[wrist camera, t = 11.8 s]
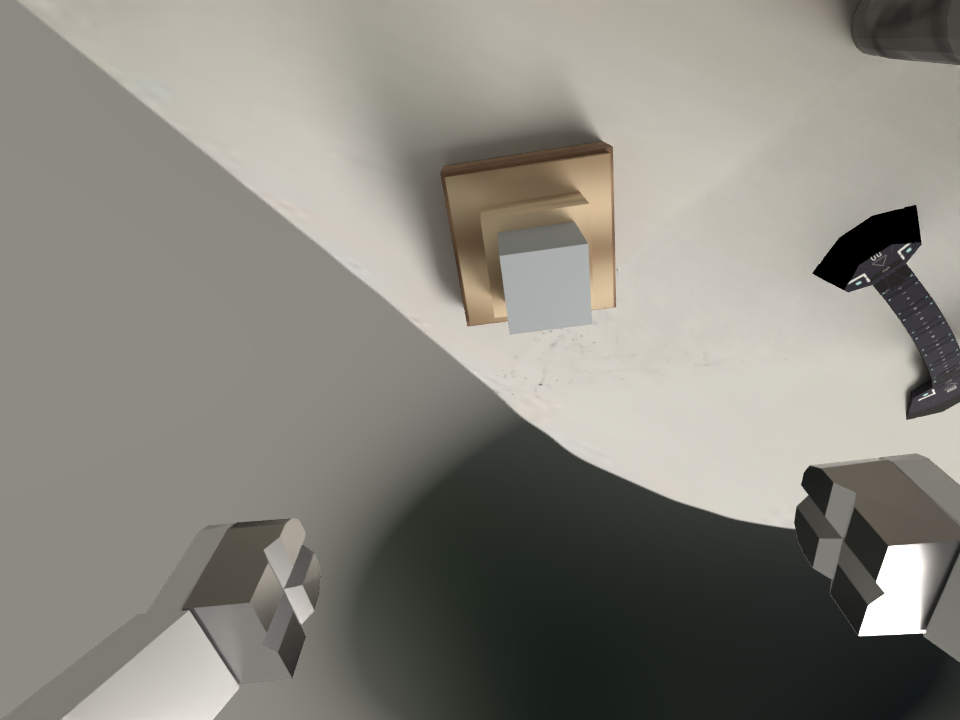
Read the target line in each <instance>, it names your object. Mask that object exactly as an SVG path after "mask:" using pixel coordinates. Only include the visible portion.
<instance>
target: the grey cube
mask: <svg viewBox="0 0 960 720" xmlns="http://www.w3.org/2000/svg"><path fill="white" fill-rule="evenodd" d="M498 244H499V256H500V264H501V271H502V279H503V286H504V294H505V302H506V309H507V317H508V324H509V332H510V335H511V334H519V333H526V332H534V331H542V330H550V329H558V328H565V327H573V326H581V325H589V324H592V315H591V293H590V271H589V250H588V242H587V241H586V239H585V238H584V236H583V234H582V233H581V231H580V230H579V228H578V226H577V225H576V223H575V222H568V223H561V224H554V225H547V226H540V227H533V228H526V229H519V230H512V231H505V232H498Z"/></svg>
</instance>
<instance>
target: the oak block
mask: <svg viewBox="0 0 960 720" xmlns="http://www.w3.org/2000/svg"><path fill="white" fill-rule="evenodd" d="M480 221H481V228H482V234H483V241H484V248H485V255H486V262H487V269H488V276H489V282H490V289H491V296H492V303H493V310H494V317H495V318H498V317H506V316H507V309H506V302H505V294H504V286H503V279H502V271H501V264H500V256H499V244H498V232H505V231H512V230H519V229H526V228H533V227H540V226H547V225H554V224H561V223H568V222H575V223H576V225H577V226H578V228H579V230H580V231H581V233H582V234H583V236H584V238H585V239H586V241H587V242H588V250H589V271H590V293H591V305H594V295H593V271H592V248H591V225H590V203H589V202H588V201H587V200H586V199H585V197H584V196H583V195H582V194H581V193H580V191H578V192H571V193H565V194H558V195H551V196H544V197H538V198H531V199H524V200H518V201H511V202H504V203H497V204H491V205H484V206H481V215H480Z"/></svg>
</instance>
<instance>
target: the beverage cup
mask: <svg viewBox="0 0 960 720" xmlns="http://www.w3.org/2000/svg"><path fill="white" fill-rule="evenodd" d="M851 28H852V38H853V41H854V43H855V45H856V47H857V48H858V49H859V50H861V51H862V52H863V53H865V54H869V55H873V56H881V57H885V58H890V59H901V60H911V61H922V62H932V63H943V64H953V65H960V0H861V1H860V3H859V5H858V7H857V9H856V11H855V14H854V17H853V22H852V27H851Z"/></svg>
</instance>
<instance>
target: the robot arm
mask: <svg viewBox="0 0 960 720" xmlns="http://www.w3.org/2000/svg"><path fill="white" fill-rule="evenodd" d="M801 486H802V487H803V488H804V490H805V491H806V492H807V494H808V496H807V497H806V498H805V499H804V500H803V501H802V502H801V503H800V504H799V505H798V506H797V507H796V514H795V521H794V524H795V529H796V535H797V540H798V542H799V544H800V547H801V549H802V551H803V554H804V555H805V557H806V558H807V560H808V561H809V563H810V564H811V566H812V568H814V569H815V570H817V571H819V572H820V573H822V574H824V575H825V576H827V577H828V578H830V579H832V583H831V590H830V595H831V596H832V598H833V599H834V601H835V602H836V603H837V605H838V606H839V608H840V609H841V611H842V612H843V614H844V615H845V617H846V618H847V620H848V621H849V623H850V624H851V626H852V627H853V628H854V630H855V632H856V633H857V634H858V636H866V635H886V634H908V633H924V637H925V638H927V639H928V640H930V641H931V642H932V643H934V644H935V645H937V646H938V647H939V648H941V649H942V650H944V651H945V652H946V653H948V654H949V655H950V656H952V657H954V658H955V659H956V660H957V661H959V662H960V485H959V484H958V483H957V482H955V481H954V480H953V479H952V478H951V477H950V476H948V475H947V474H946V473H945V472H944V471H943V470H941V469H940V468H939V467H938V466H937V465H935V464H934V463H933V462H932V461H931V460H930V459H928V458H926V457H924V456H921V455H919V454H907V455H898V456H889V457H880V458H878V459H875V458H873V459H864V460H855V461H846V462H837V463H828V464H819V465H810V466H809V467H808V468H807V469H806V471H805V472H804V474H803V479H802V483H801ZM305 535H306V533H305V531H304V529H303V527H302V525H301V523H300V521H299V520H297V519H292V518H289V519H277V520H263V521H250V522H237V523H232V524H218V525H208V526H206V527H205V528H203V529H202V530H200V531H199V532H198V534H197V535H196V537H195V538H194V540H193V542H192V543H191V545H190V546H189V547H188V549H187V551H186V552H185V554H184V556H183V557H182V558H181V560H180V562H179V563H178V565H177V566H176V568H175V569H174V571H173V572H172V574H171V576H170V577H169V579H168V580H167V582H166V583H165V585H164V586H163V588H162V590H161V591H160V593H159V594H158V596H157V597H156V599H155V600H154V602H153V604H152V605H151V607H150V608H149V610H148V611H147V613H146V614H139V615H135V616H134V617H133V618H132V619H130V620H129V621H128V622H126V623H125V624H124V625H123V626H121V627H120V628H119V629H117V630H116V631H115V632H113V633H112V634H111V635H110V636H108V637H107V638H106V639H104V640H103V641H102V642H101V643H99V644H98V645H97V646H95V647H94V648H93V649H91V650H90V651H89V652H88V653H86V654H85V655H84V656H82V657H81V658H80V659H79V660H77V661H76V662H75V663H73V664H72V665H71V666H69V667H68V668H67V669H66V670H64V671H63V672H62V673H60V674H59V675H58V676H56V677H55V678H54V679H53V680H51V681H50V682H49V683H48V684H46V685H45V686H43V687H42V688H41V689H40V690H39V691H37V692H36V693H34V694H33V695H32V696H31V697H29V698H28V699H27V700H25V701H24V702H23V703H21V704H20V705H19V706H18V707H16V708H15V709H14V710H12V711H11V712H10V713H9V714H7V715H6V716H5V717H3V718H2V719H1V720H213V719H214V718H215V716H216V715H217V714H218V713H219V712H220V710H221V709H222V708H223V707H224V706H225V704H226V703H227V702H228V701H229V699H230V698H231V697H232V696H233V695H234V694H235V692H236V691H237V690H238V689H239V685H238V684H245V683H255V682H264V681H273V680H283V679H292V677H293V675H294V671H295V669H296V665H297V662H298V659H299V656H300V653H301V650H302V647H303V644H304V641H305V638H306V636H305V633H304V631H303V628H302V626H301V624H302V623H303V622H304V621H305V620H306V619H307V618H308V617H309V616H310V615H311V614H312V613H313V611H314V610H315V607H316V603H317V600H318V596H319V590H320V578H321V576H320V569H319V564H318V561H317V558H316V556H315V553H314V552H313V551H311V550H309V549H308V548H307V547H305V546H304V545H302V543H303V541H304V538H305Z"/></svg>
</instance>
